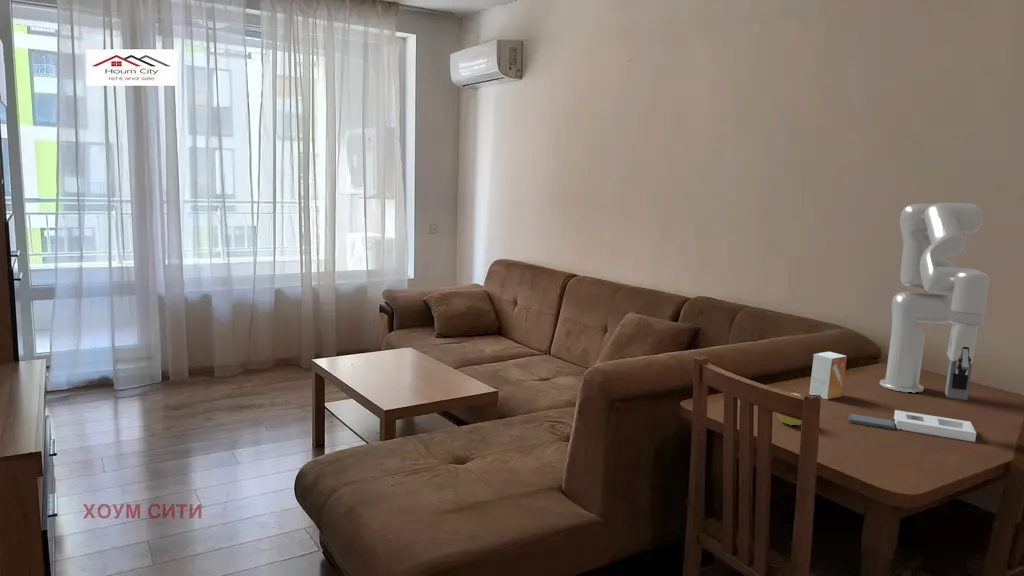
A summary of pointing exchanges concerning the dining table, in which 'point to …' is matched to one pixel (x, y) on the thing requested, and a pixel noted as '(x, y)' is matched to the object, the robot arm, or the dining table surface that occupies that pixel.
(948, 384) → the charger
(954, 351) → the robot arm
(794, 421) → the apple
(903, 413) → the outlet plate
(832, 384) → the small box
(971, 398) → the dining table surface
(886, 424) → the phone
